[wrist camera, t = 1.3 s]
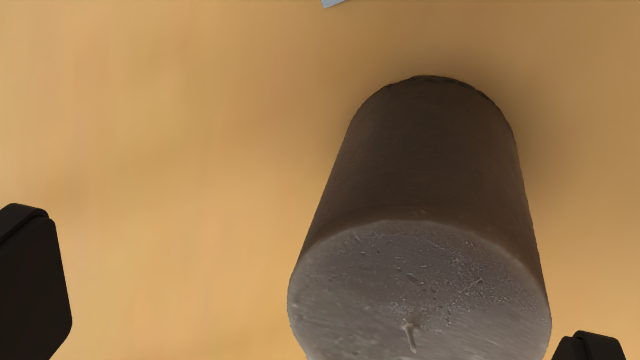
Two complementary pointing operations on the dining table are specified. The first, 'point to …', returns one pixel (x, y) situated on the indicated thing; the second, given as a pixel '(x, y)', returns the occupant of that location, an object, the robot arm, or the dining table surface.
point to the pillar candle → (422, 237)
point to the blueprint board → (330, 2)
